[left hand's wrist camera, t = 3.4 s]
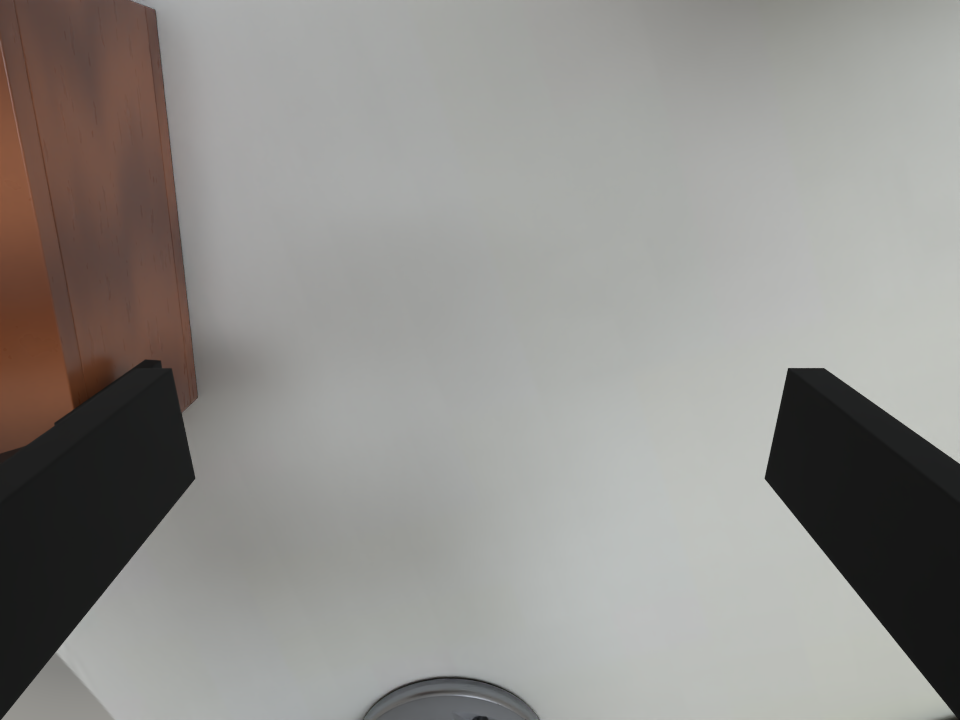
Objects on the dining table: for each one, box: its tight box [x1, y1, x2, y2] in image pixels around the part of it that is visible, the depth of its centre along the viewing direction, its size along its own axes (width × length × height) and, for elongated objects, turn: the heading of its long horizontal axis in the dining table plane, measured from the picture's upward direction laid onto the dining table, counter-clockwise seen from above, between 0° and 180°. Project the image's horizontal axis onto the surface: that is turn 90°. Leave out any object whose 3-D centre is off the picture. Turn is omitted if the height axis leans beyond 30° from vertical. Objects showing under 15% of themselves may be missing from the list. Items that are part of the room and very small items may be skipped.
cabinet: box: [0, 0, 198, 453], centre depth 27 cm, size 21×10×11 cm, turn 176°
